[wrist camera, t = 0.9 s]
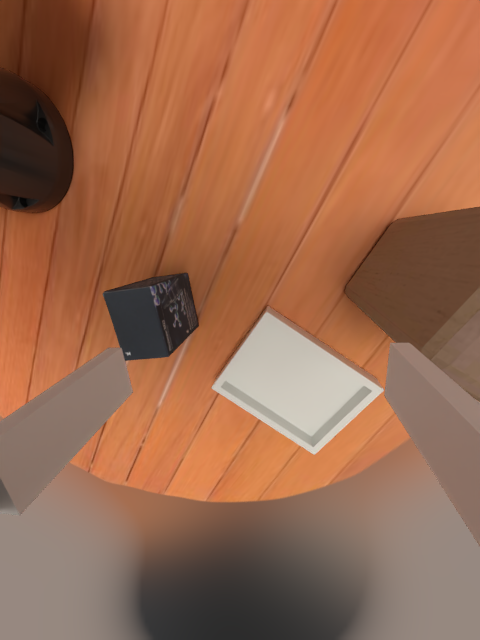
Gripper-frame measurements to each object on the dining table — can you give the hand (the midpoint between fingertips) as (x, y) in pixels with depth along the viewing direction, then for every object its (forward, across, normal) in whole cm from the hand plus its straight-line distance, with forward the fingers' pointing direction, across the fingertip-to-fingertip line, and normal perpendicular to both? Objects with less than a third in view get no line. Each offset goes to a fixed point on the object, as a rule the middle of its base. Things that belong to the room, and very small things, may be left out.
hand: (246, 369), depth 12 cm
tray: (+22, +3, -14) cm, 26 cm away
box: (+22, -13, -2) cm, 26 cm away
